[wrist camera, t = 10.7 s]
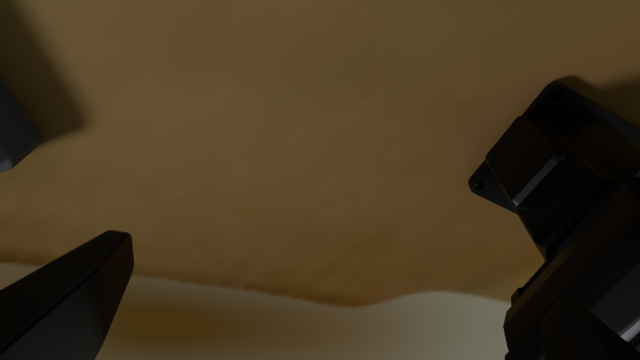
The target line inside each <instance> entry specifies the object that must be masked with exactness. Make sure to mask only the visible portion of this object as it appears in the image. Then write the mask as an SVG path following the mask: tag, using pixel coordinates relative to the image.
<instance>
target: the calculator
mask: <svg viewBox="0 0 640 360" xmlns="http://www.w3.org/2000/svg"><path fill="white" fill-rule="evenodd" d="M42 141H43V136H42V134H41V133H40V131H39V130H38V129H37V127H36V126H35V125H34V123H33V122H32V121H31V119H30V118H29V117H28V115H27V114H26V113H25V111H24V110H23V109H22V107H21V106H20V105H19V103H18V102H17V101H16V99H15V98H14V97H13V95H12V94H11V93H10V91H9V90H8V89H7V87H6V86H5V85H4V83H3V82H2V81H1V79H0V173H1V172H4V171H7V170H9V169H12V168H13V167H15V166H16V165H17V164H18V163H19V162H20V161H21V160H23V159H24V158H25V157H26V156H27V155H28V154H29V153H30V152H32V151H33V150H34V149H35V148H36V147H37V146H38V145H39V144H41V143H42Z"/></svg>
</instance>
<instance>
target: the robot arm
mask: <svg viewBox="0 0 640 360" xmlns="http://www.w3.org/2000/svg"><path fill="white" fill-rule="evenodd" d="M557 90H559V94H558V95H557V96H556V97H553V98H551V95H552V93H553V92H555V91H557ZM478 182H483V183H482V184H481V185H480V186H475V185H476V184H477V183H478ZM468 185H469V187H470V189H471V191H472V192H473V193H475V194H477V195H479V196H481V197H483V198H485V199H487V200H489V201H491V202H493V203H495V204H497V205H499V206H501V207H504V208H506V209H508V210H510V211H512V212H514V213H516V214H518V216H519V218H520V219H521V221H522V223H523V225H524V226H525V228H526V230H527V231H528V233H529V235H530V236H531V238H532V240H533V241H534V243H535V245H536V247H537V248H538V250H539V252H540V253H541V255H542V257H543V258H544V260H545V263H544V264H543V265H542V266H541V267H540V268H539V270H538V271H537V272H536V273H535V274H534V275H533V276H532V277H531V278H530V280H529V281H528V282H527V283H526V284H525V285H524V286H523V287H522V288H518V289H517V290H516V291H515V293H514V294H513V295H512V296H511V307H510V309H509V310H508V311H507V313H506V317H505V321H504V326H503V328H504V333H505V337H506V342H507V347H508V350H509V352H508V353H507V354H506V355H505V360H640V128H638V127H636V126H635V125H633V124H631V123H629V122H628V121H626V120H624V119H622V118H621V117H619V116H617V115H616V114H614V113H612V112H610V111H609V110H607V109H605V108H603V107H602V106H600V105H598V104H597V103H595V102H593V101H591V100H590V99H588V98H586V97H584V96H583V95H581V94H579V93H578V92H576V91H574V90H572V89H571V88H569V87H567V86H565V85H564V84H562V83H559V82H553V83H550V84H548V85H547V86H546V87H545V88H544V89H543V90H542V92H541V93H540V94H539V95H538V97H537V98H536V99H535V100H534V101H533V103H532V104H531V105H530V106H529V107H528V109H527V110H526V111H525V112H524V113H523V115H522V116H520V117H517V119H516V120H515V121H514V122H513V123H512V125H511V126H510V127H509V128H508V129H507V131H506V132H505V133H504V134H503V136H502V137H501V138H500V139H499V140H498V142H497V143H496V144H495V145H494V146H493V148H492V149H491V150H490V151H489V153H488V154H487V155H486V159H485V161H484V162H483V163H482V164H481V165H480V167H479V168H478V169H477V170H476V171H475V173H474V174H473V175H472V176H471V178H470V179H469V181H468ZM133 268H134V256H133V245H132V237H131V235H130V234H129V233H127V232H122V231H115V230H109V231H106V232H104V233H102V234H100V235H99V236H97V237H95V238H93V239H91V240H90V241H88V242H86V243H84V244H83V245H81V246H79V247H77V248H75V249H74V250H72V251H70V252H68V253H66V254H65V255H63V256H61V257H59V258H57V259H56V260H54V261H52V262H50V263H48V264H47V265H45V266H43V267H41V268H39V269H38V270H36V271H34V272H33V273H31V274H29V275H27V276H25V277H24V278H22V279H20V280H18V281H16V282H14V283H13V284H11V285H9V286H7V287H5V288H4V289H2V290H0V360H95V358H96V356H97V355H98V353H99V351H100V349H101V347H102V345H103V343H104V341H105V338H106V336H107V334H108V331H109V329H110V327H111V324H112V321H113V319H114V317H115V314H116V312H117V309H118V307H119V304H120V302H121V300H122V297H123V295H124V292H125V290H126V287H127V285H128V282H129V280H130V277H131V275H132V272H133Z"/></svg>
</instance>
